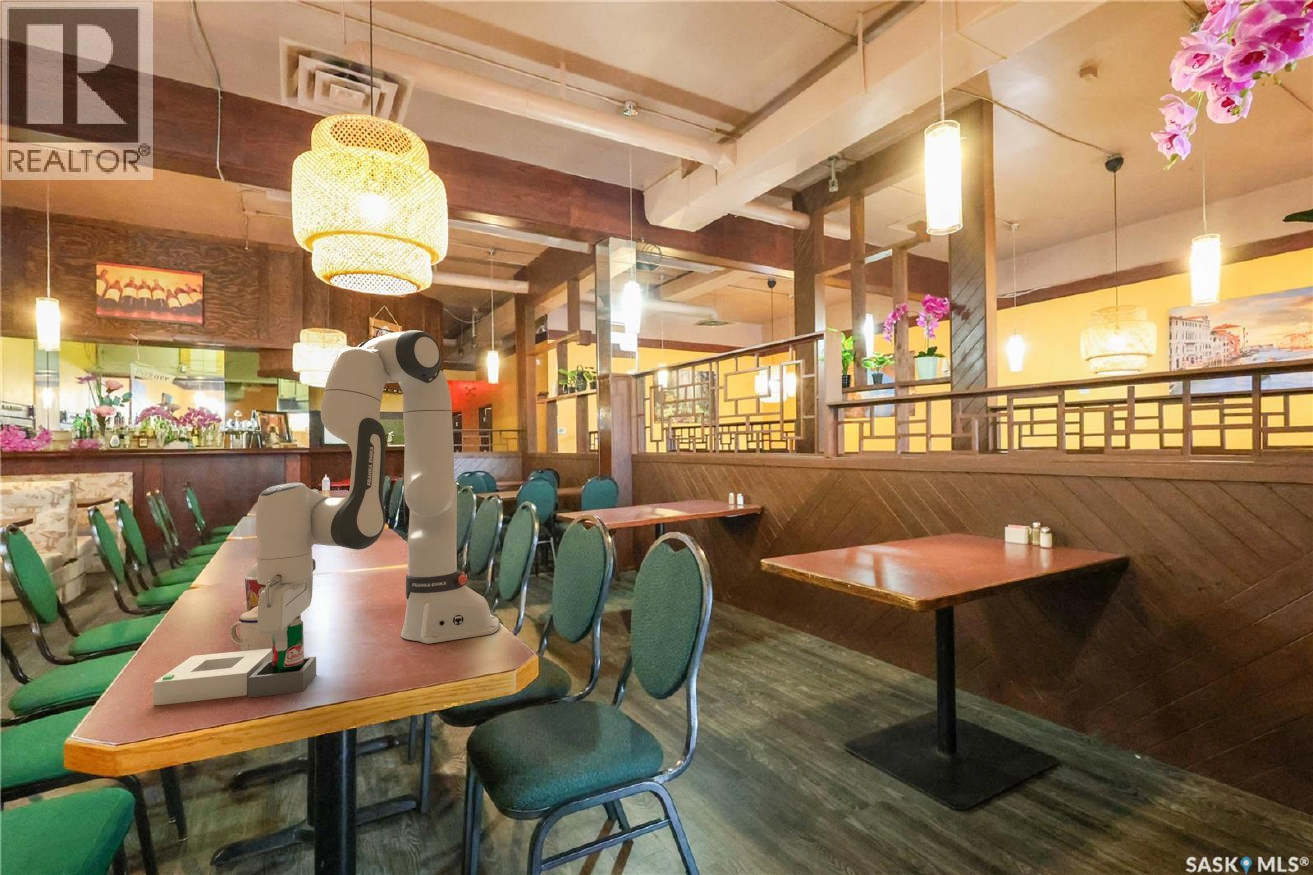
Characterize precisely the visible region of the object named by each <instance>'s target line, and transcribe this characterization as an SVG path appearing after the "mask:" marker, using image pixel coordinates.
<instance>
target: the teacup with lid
mask: <svg viewBox="0 0 1313 875" xmlns="http://www.w3.org/2000/svg"><path fill="white" fill-rule="evenodd" d="M238 626H240V637H239V636H238V635H237V627H238ZM229 636H230V638H231V640H232V641H233V643H235V644H237V645H240V651H249V650H260V649H270V648H272V634H265V635H261V634H260V633H259V631H258V606H257V607H255V608H253V609H252V610H250V611H248V612H247V611H246V612H244V613H242V614H241V615H240V616H239V619H238V621H236V622H234V623H233V624H232V625H231V626H230V629H229Z"/></svg>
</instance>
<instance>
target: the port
mask: <svg viewBox="0 0 1313 875" xmlns="http://www.w3.org/2000/svg"><path fill="white" fill-rule="evenodd" d="M266 661H272V648H270V649H260V650H249V651H241V650H238V651H230V652H221V653H220V652H218V653H210V654H209V653H207V654H197V655H191V656H190V657H189V658H187V659H186V660H184V661H183V662H181V663H180V664H179V665H177V666H176V667H174V668H172V669H171V670H169V671H168V672H167V673H165V674H164V675H163V676H161V677H159V678H158V679H157V680H155V681H154V682H153V706H154V707H155V705H156V706H163V705H171V704H172V705H173V704H182V703H190V702H198V701H199V702H200V701H207V700H216V699H217V700H218V699H224V698H225V699H226V698H234V697H244V696H249V684H248V678H249V677H250V676H251V675H252V674H253V673H254V672H255V671H256V670H257V669H258V668H259V667H261V666H262V665H263V664H264V663H265V662H266Z"/></svg>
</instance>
